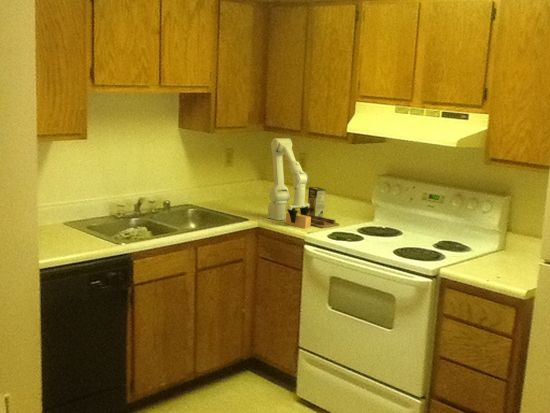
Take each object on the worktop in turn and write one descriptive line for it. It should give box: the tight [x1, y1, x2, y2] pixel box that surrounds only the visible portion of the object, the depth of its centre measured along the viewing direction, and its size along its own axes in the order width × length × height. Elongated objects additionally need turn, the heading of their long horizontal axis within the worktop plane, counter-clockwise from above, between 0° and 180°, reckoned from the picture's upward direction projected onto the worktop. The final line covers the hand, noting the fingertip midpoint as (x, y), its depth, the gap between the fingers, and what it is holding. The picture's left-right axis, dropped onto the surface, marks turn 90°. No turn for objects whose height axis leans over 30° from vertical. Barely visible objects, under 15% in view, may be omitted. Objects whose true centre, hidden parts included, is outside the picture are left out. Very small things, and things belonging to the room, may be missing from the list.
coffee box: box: [307, 186, 327, 218], centre depth 400 cm, size 9×6×16 cm
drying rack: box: [307, 214, 341, 229], centre depth 382 cm, size 22×14×3 cm, turn 46°
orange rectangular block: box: [285, 212, 311, 230], centre depth 373 cm, size 14×4×6 cm, turn 46°
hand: (298, 221), depth 373 cm, fingers open, 7 cm apart
